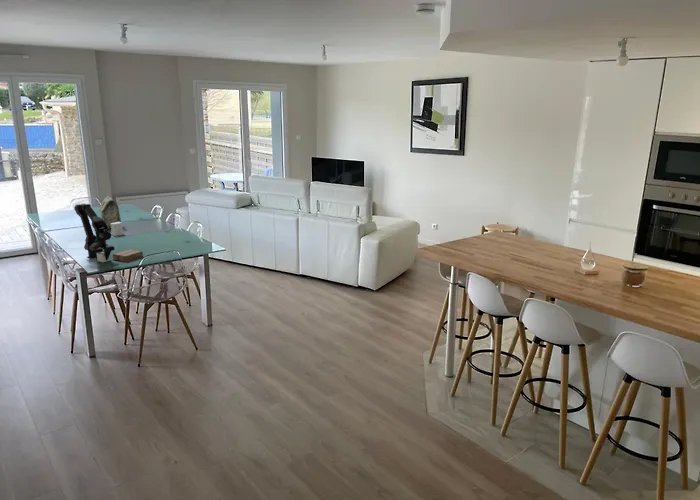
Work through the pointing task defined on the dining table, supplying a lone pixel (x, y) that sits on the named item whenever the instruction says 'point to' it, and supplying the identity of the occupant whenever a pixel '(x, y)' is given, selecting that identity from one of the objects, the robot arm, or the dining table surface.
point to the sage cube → (102, 257)
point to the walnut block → (127, 255)
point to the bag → (110, 211)
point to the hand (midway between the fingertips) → (104, 259)
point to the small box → (117, 228)
